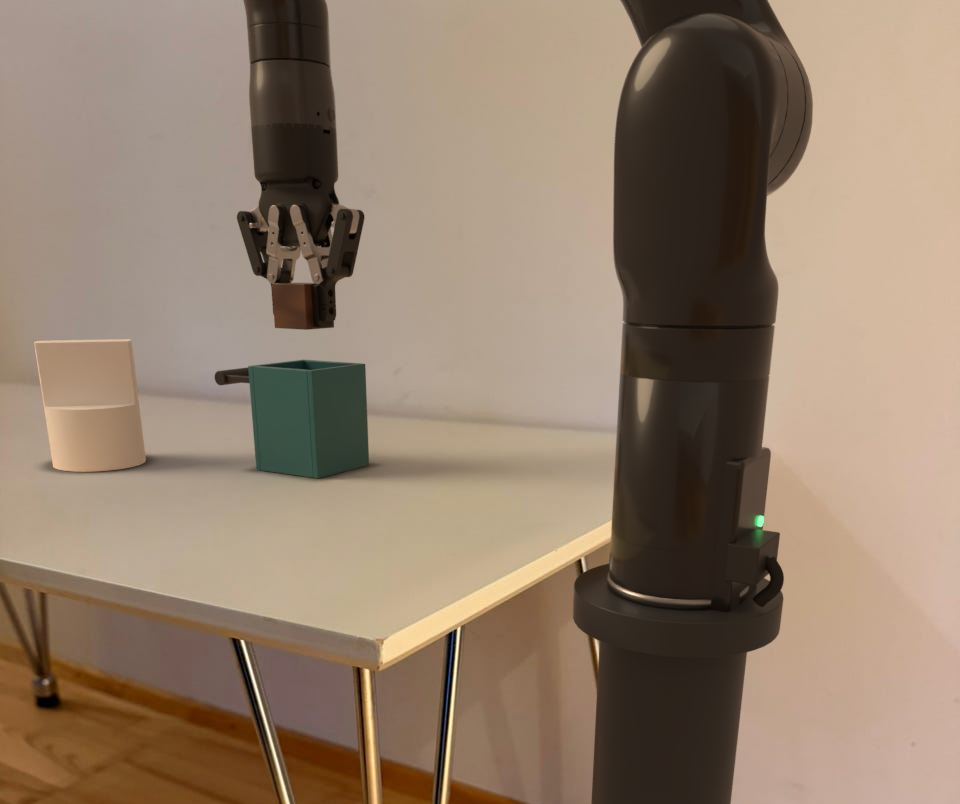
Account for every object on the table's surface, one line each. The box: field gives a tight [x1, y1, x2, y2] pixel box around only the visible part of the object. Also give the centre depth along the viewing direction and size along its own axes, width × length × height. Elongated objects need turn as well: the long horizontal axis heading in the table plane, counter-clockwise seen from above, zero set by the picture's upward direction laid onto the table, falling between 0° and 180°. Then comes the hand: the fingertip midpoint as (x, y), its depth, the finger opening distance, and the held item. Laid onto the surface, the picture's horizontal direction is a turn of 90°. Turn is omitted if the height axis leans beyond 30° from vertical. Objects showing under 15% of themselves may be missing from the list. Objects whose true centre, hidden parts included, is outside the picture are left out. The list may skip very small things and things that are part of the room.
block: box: [271, 282, 335, 331], centre depth 93 cm, size 4×4×4 cm
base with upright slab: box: [33, 338, 147, 473], centre depth 99 cm, size 9×9×12 cm
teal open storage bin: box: [214, 359, 370, 479], centre depth 98 cm, size 10×8×14 cm
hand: (305, 324), depth 94 cm, fingers closed on block, 4 cm apart
